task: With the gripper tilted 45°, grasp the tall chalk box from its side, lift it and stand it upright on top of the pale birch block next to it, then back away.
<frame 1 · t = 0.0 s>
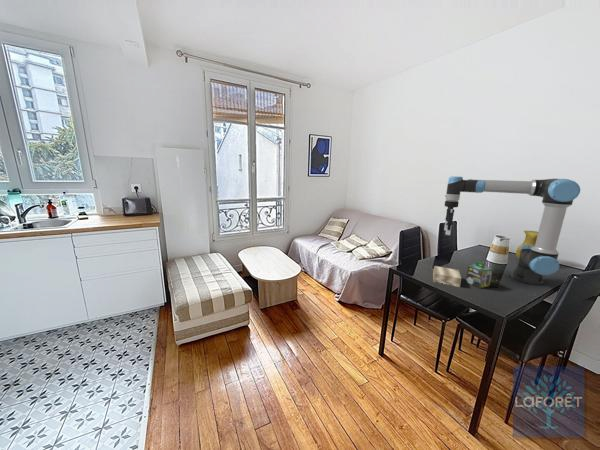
hand: (446, 232, 161), 28 cm above the table, tool pointing down, fingers open, 13 cm apart
chalk box: (477, 284, 149), on the table
birch block: (445, 280, 154), on the table
pitcher: (529, 263, 187), on the table
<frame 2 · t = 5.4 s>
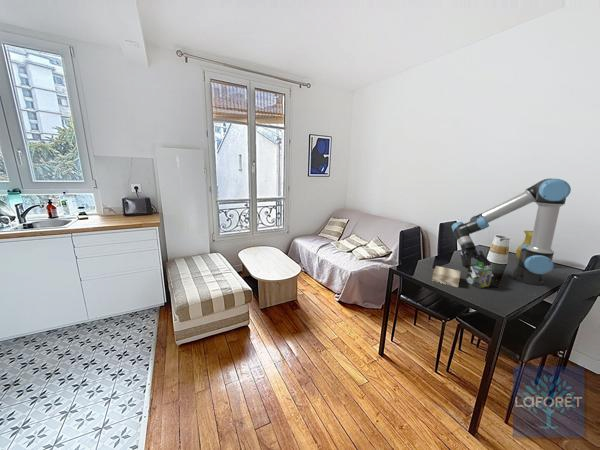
hand: (483, 277, 145), 6 cm above the table, tool tilted 45°, fingers closed on chalk box, 10 cm apart
chalk box: (477, 284, 149), on the table, touching gripper
when the fingers open (13 cm above the table, at t = 11.0 s): chalk box drops 2 cm, resting on birch block.
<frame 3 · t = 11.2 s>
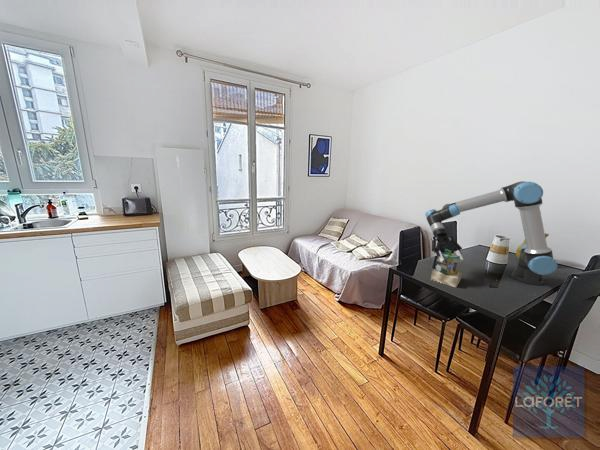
hand: (452, 260, 149), 14 cm above the table, tool tilted 45°, fingers open, 12 cm apart
chalk box: (445, 272, 153), point 5 cm above the table, touching birch block
birch block: (445, 280, 154), on the table, touching chalk box
everything else where it was.
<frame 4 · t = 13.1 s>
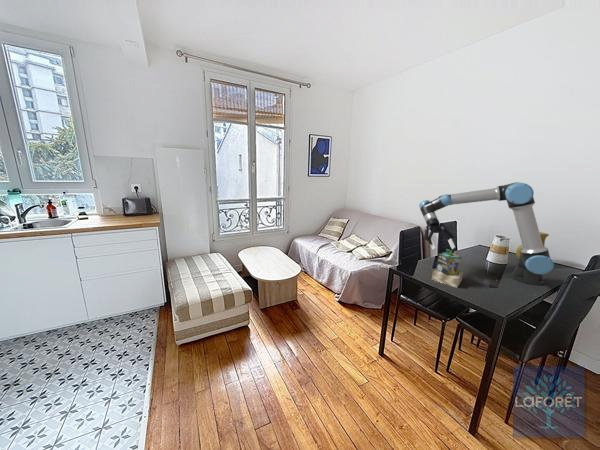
hand: (444, 248, 154), 20 cm above the table, tool tilted 45°, fingers open, 13 cm apart
nothing on the table moved.
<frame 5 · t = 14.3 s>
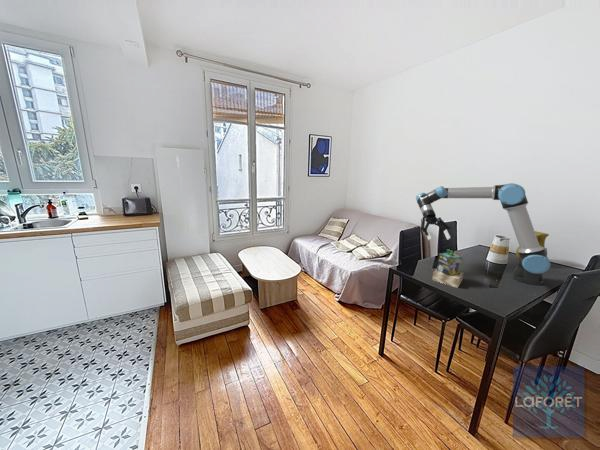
hand: (439, 239, 159), 24 cm above the table, tool tilted 45°, fingers open, 13 cm apart
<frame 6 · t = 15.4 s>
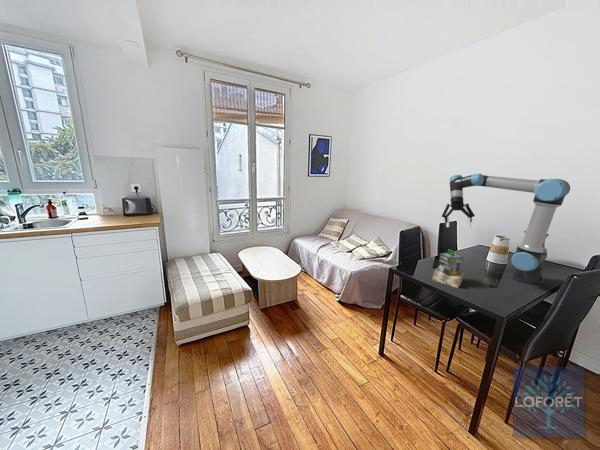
hand: (458, 227, 168), 30 cm above the table, tool tilted 20°, fingers open, 13 cm apart
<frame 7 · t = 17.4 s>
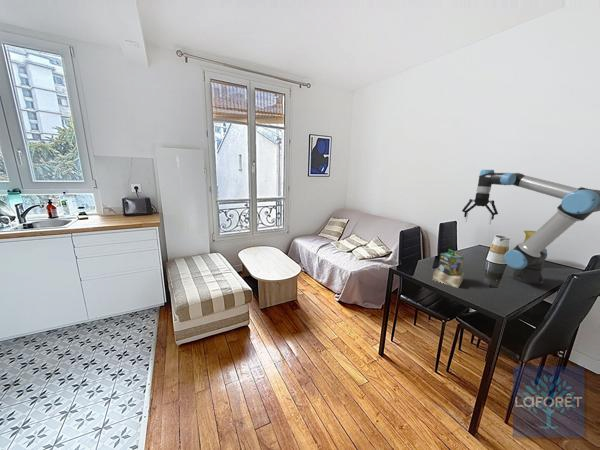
hand: (477, 223, 170), 33 cm above the table, tool pointing down, fingers open, 13 cm apart
at the end: chalk box inside the target area on the birch block (0.1 cm from its centre), point 5.8 cm above the birch block's base; chalk box tilted 0°; the gripper is holding nothing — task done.
